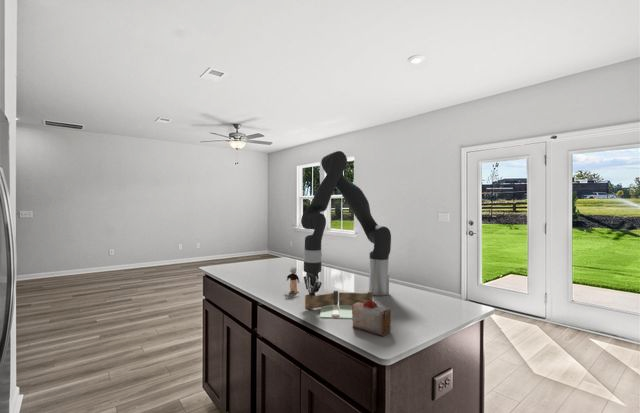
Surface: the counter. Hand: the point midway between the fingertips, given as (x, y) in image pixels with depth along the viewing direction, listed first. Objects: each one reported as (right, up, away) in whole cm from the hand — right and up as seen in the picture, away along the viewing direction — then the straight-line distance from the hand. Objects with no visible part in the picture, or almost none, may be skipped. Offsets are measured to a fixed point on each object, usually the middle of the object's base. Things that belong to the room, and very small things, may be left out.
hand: (311, 301), depth 134 cm
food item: (+21, -3, -23) cm, 31 cm away
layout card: (+15, -3, -2) cm, 16 cm away
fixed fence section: (+19, -3, +2) cm, 19 cm away
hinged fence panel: (+4, -2, -1) cm, 5 cm away
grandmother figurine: (-10, -3, +23) cm, 25 cm away
